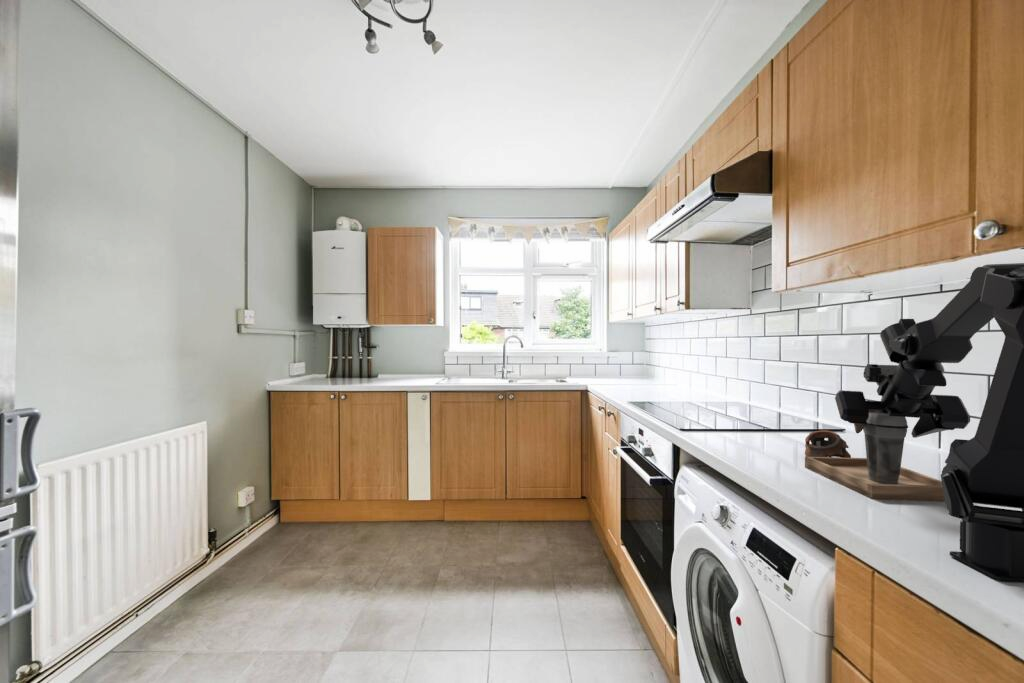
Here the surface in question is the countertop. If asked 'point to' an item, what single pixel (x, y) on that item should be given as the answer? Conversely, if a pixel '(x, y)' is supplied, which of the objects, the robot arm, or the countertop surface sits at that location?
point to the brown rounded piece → (825, 445)
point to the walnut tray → (857, 479)
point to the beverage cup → (884, 447)
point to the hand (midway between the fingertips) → (884, 433)
